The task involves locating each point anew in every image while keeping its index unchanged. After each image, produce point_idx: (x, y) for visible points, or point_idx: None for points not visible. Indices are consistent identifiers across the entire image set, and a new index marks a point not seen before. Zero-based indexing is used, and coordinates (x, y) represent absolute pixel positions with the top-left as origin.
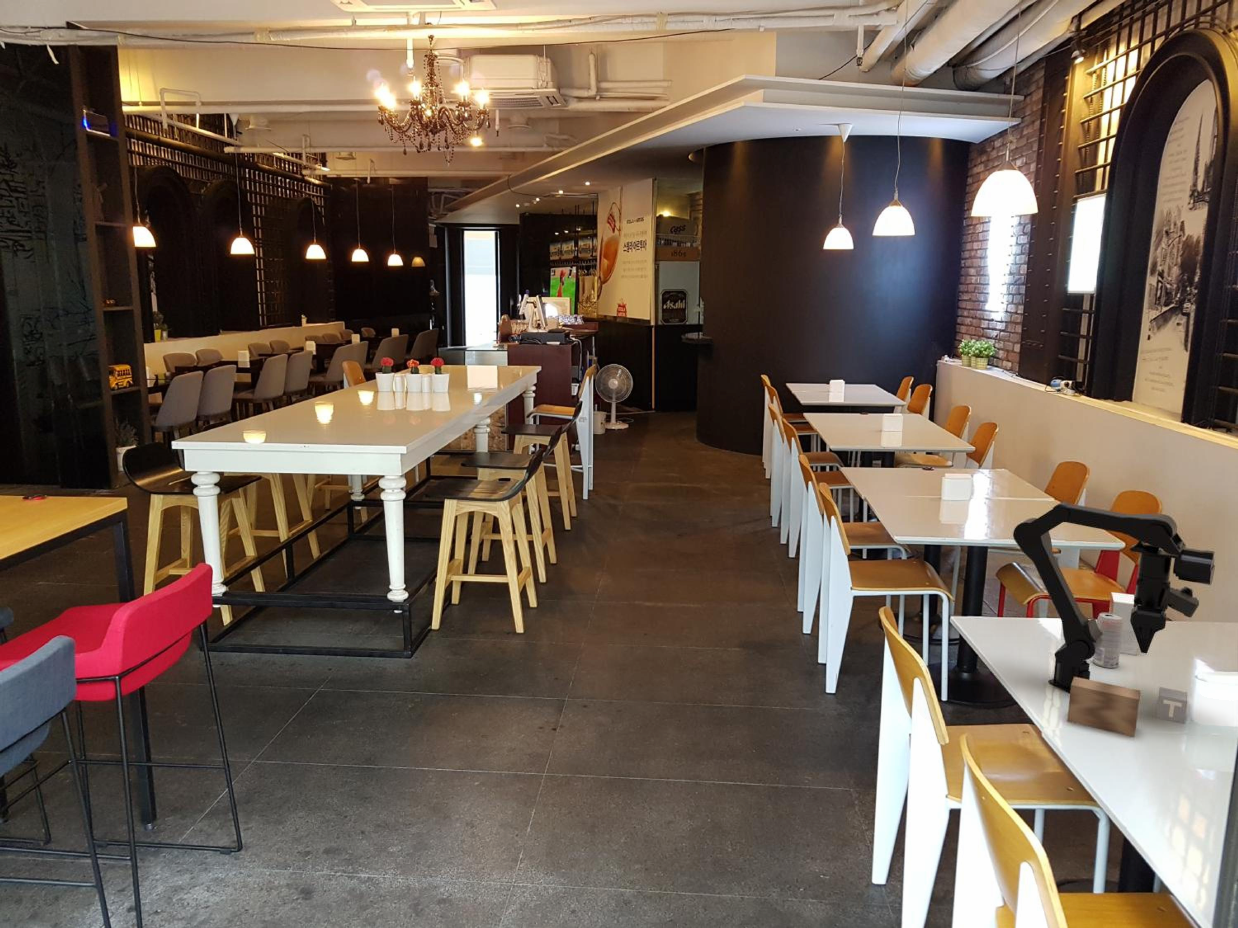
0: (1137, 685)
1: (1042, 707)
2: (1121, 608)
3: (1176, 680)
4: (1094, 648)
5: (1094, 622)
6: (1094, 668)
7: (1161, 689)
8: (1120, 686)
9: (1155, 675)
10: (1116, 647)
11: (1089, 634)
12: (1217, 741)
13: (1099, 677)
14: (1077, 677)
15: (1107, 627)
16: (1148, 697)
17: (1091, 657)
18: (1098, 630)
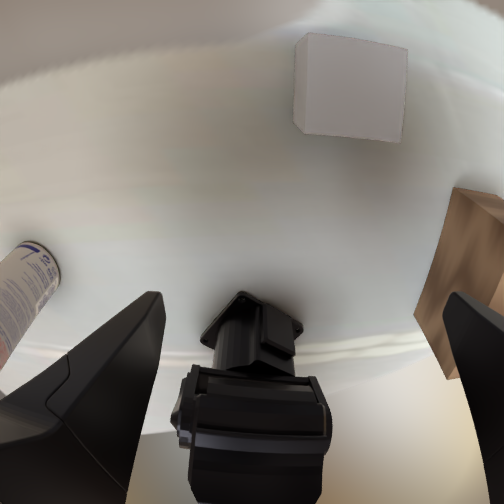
0: (120, 184)
1: (404, 353)
2: None
3: (19, 99)
4: (325, 415)
5: (221, 491)
6: (81, 288)
7: (332, 128)
8: (498, 287)
9: (19, 152)
10: (14, 282)
11: (321, 469)
12: (446, 2)
13: (133, 276)
14: (451, 374)
15: (2, 351)
16: (204, 147)
17: (310, 387)
18: (213, 453)
